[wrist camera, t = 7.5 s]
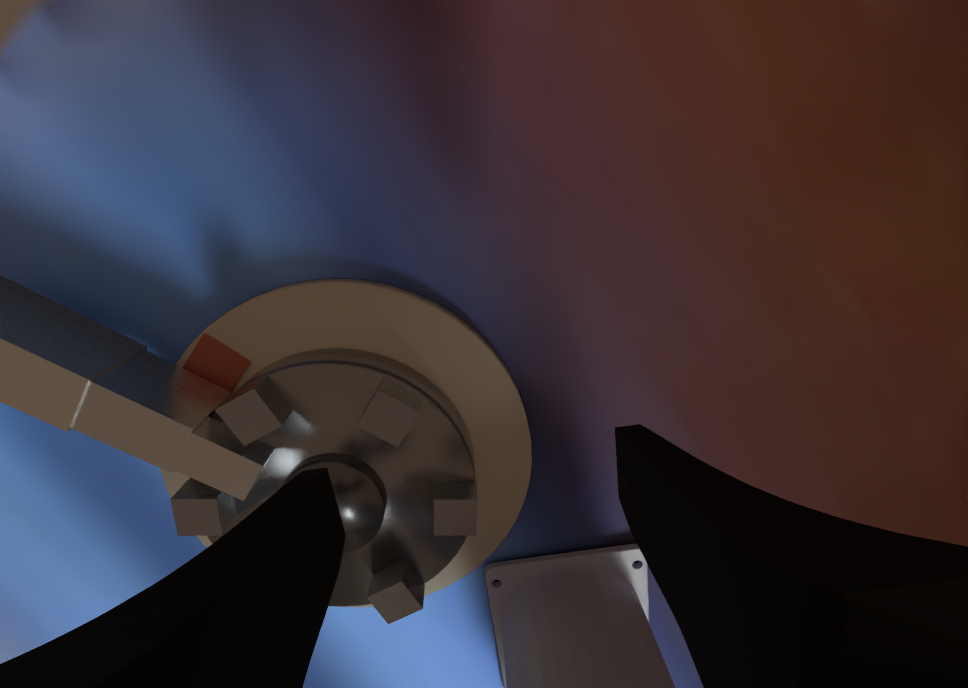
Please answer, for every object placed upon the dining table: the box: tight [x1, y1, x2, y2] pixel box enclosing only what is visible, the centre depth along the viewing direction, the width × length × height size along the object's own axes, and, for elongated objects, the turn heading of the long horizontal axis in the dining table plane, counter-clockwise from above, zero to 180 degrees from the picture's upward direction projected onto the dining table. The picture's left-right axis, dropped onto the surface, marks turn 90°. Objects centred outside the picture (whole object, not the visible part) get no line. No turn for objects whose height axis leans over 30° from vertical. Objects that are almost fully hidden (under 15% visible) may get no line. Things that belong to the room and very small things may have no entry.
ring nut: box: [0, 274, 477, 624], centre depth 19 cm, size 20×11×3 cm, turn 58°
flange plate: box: [160, 278, 532, 607], centre depth 22 cm, size 16×16×1 cm
